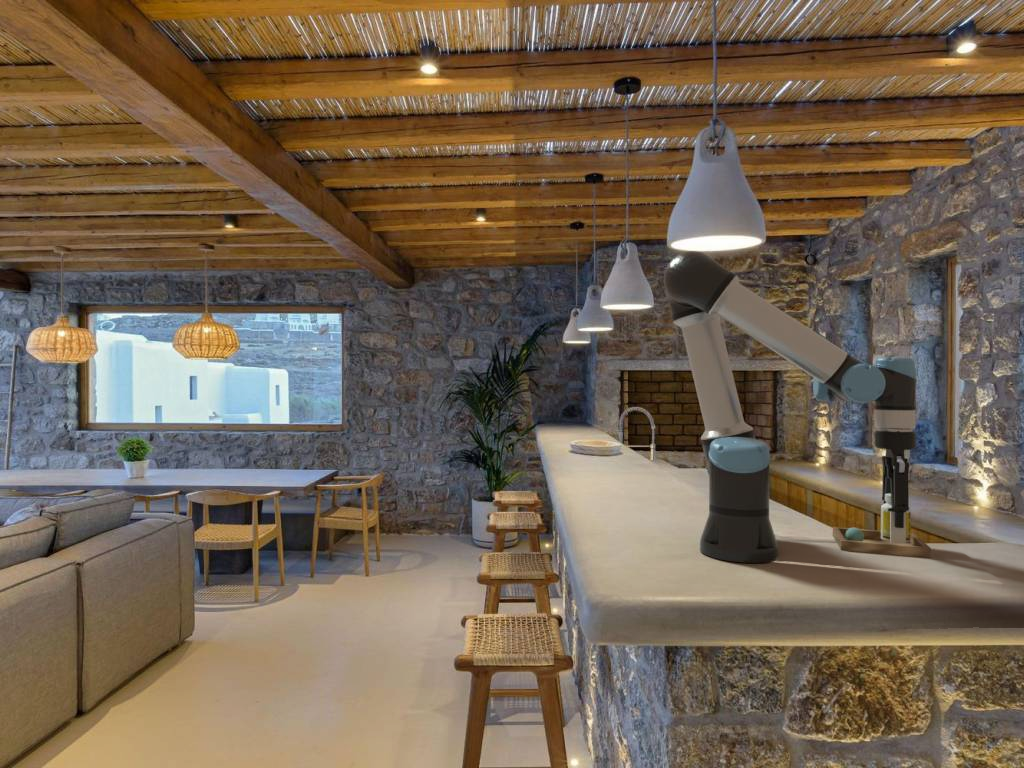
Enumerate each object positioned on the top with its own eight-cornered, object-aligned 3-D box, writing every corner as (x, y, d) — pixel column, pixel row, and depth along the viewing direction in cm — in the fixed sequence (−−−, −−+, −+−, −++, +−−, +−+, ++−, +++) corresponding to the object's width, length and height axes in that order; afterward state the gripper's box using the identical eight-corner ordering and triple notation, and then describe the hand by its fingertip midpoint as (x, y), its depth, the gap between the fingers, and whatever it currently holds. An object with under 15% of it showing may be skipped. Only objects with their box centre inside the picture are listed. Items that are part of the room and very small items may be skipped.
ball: (846, 544, 137) (846, 528, 137) (844, 541, 140) (844, 525, 140) (865, 546, 136) (865, 529, 136) (862, 542, 139) (862, 526, 139)
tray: (841, 552, 132) (841, 540, 132) (832, 538, 146) (832, 527, 146) (930, 560, 127) (930, 548, 127) (913, 544, 140) (913, 533, 140)
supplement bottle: (914, 544, 132) (914, 497, 132) (886, 543, 133) (886, 496, 133) (904, 538, 137) (904, 493, 137) (876, 537, 138) (876, 492, 138)
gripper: (927, 433, 125) (926, 551, 125) (905, 428, 143) (905, 531, 143) (883, 432, 128) (883, 548, 128) (867, 427, 145) (867, 529, 145)
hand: (894, 539), depth 135 cm, fingers closed on supplement bottle, 5 cm apart
